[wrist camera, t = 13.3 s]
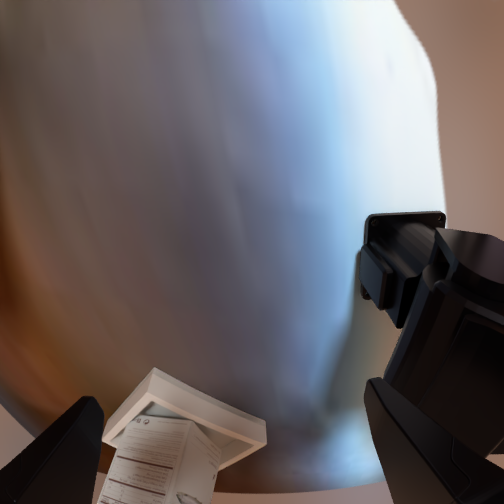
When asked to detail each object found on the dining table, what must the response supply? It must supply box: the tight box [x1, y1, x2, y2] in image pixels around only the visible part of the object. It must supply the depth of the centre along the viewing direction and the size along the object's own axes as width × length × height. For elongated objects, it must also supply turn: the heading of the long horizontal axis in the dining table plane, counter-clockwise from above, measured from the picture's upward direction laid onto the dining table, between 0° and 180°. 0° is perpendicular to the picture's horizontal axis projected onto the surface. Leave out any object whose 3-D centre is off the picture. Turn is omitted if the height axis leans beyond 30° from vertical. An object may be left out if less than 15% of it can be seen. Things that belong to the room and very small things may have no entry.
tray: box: [102, 367, 267, 471], centre depth 28 cm, size 13×13×3 cm
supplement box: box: [97, 415, 222, 504], centre depth 22 cm, size 7×7×13 cm
